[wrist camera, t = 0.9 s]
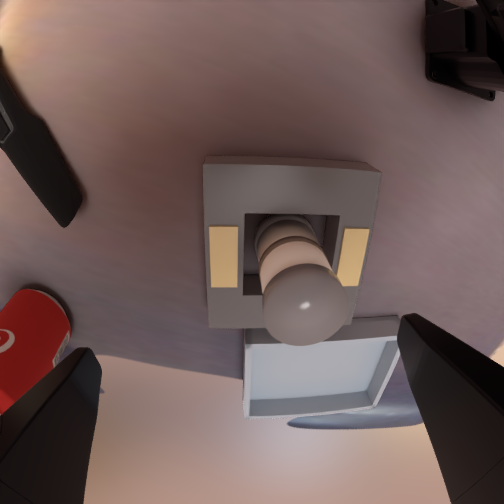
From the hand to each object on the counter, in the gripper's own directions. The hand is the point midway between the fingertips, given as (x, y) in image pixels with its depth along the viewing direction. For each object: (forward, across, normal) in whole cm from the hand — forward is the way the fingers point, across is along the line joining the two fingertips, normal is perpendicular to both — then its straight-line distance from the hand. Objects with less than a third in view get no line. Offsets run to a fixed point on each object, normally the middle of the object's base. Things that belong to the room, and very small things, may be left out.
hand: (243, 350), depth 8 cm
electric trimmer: (+14, +14, -8) cm, 21 cm away
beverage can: (+13, +18, +8) cm, 24 cm away
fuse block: (+13, -3, +3) cm, 14 cm away
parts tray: (+13, -5, +16) cm, 21 cm away
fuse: (+13, -3, +3) cm, 14 cm away
